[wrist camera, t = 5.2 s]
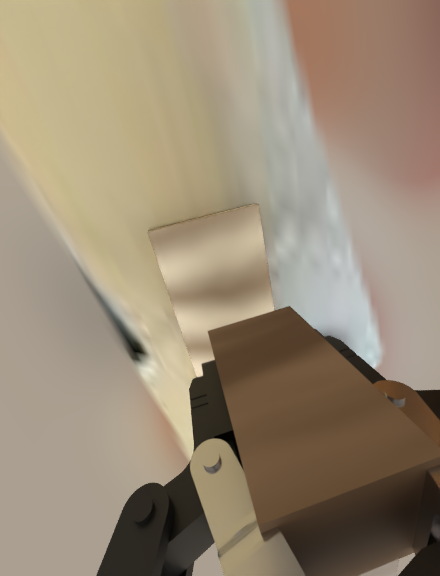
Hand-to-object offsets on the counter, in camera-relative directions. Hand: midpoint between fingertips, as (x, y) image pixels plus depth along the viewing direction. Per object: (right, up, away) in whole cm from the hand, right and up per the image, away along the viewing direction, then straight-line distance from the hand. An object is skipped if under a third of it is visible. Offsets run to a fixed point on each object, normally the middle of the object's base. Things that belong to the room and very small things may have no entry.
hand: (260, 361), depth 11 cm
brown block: (+1, -3, +2) cm, 4 cm away
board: (-1, -2, +16) cm, 16 cm away
